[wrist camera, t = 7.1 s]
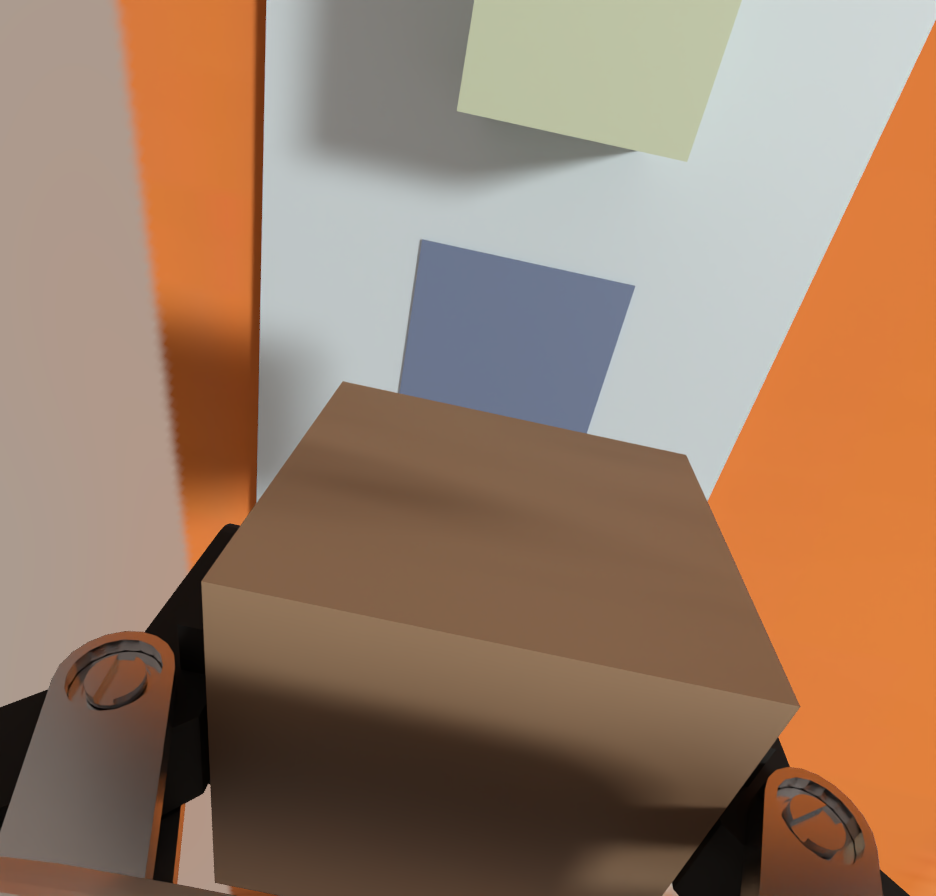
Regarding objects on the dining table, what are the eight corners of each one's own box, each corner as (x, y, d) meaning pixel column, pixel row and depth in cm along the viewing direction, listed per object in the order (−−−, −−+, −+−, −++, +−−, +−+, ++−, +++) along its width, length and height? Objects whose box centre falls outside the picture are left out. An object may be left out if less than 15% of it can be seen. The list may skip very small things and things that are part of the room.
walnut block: (586, 683, 13) (612, 963, 9) (319, 627, 13) (214, 882, 9) (685, 455, 10) (801, 706, 6) (342, 380, 10) (201, 581, 6)
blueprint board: (623, 664, 29) (625, 675, 28) (259, 586, 29) (253, 596, 28) (968, -75, 15) (985, -83, 15) (280, -230, 15) (269, -245, 15)
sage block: (641, 150, 18) (687, 162, 13) (479, 113, 18) (456, 111, 13) (705, -62, 15) (794, -156, 10) (517, -105, 15) (509, -221, 10)
